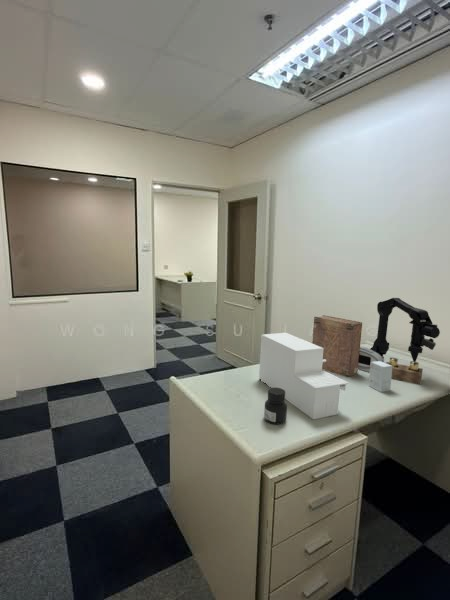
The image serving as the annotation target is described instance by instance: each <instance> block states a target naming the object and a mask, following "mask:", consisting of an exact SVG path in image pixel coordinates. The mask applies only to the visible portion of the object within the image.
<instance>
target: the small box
mask: <svg viewBox="0 0 450 600" xmlns="http://www.w3.org/2000/svg"><path fill="white" fill-rule="evenodd" d="M392 367H393V366H391V365H389V364H386V362H385V361H384V362H381V361H375V362H371V367H370V372H369V378H368V387H370V388H371V389H374V390H375V391H378V392H380V393H385V392H389V391H391V385H392V379H391V377H392Z"/></svg>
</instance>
